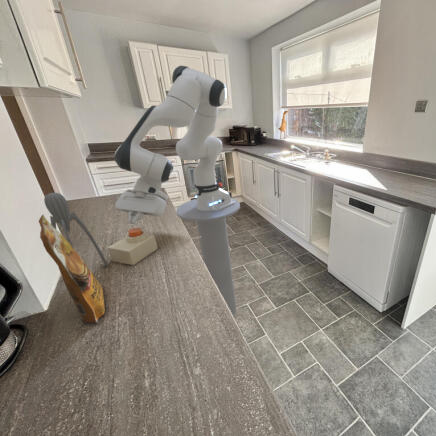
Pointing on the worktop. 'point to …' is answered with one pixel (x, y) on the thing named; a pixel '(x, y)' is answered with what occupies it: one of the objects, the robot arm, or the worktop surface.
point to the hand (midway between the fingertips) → (132, 223)
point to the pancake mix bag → (74, 273)
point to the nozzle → (135, 232)
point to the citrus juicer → (66, 217)
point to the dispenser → (132, 248)
